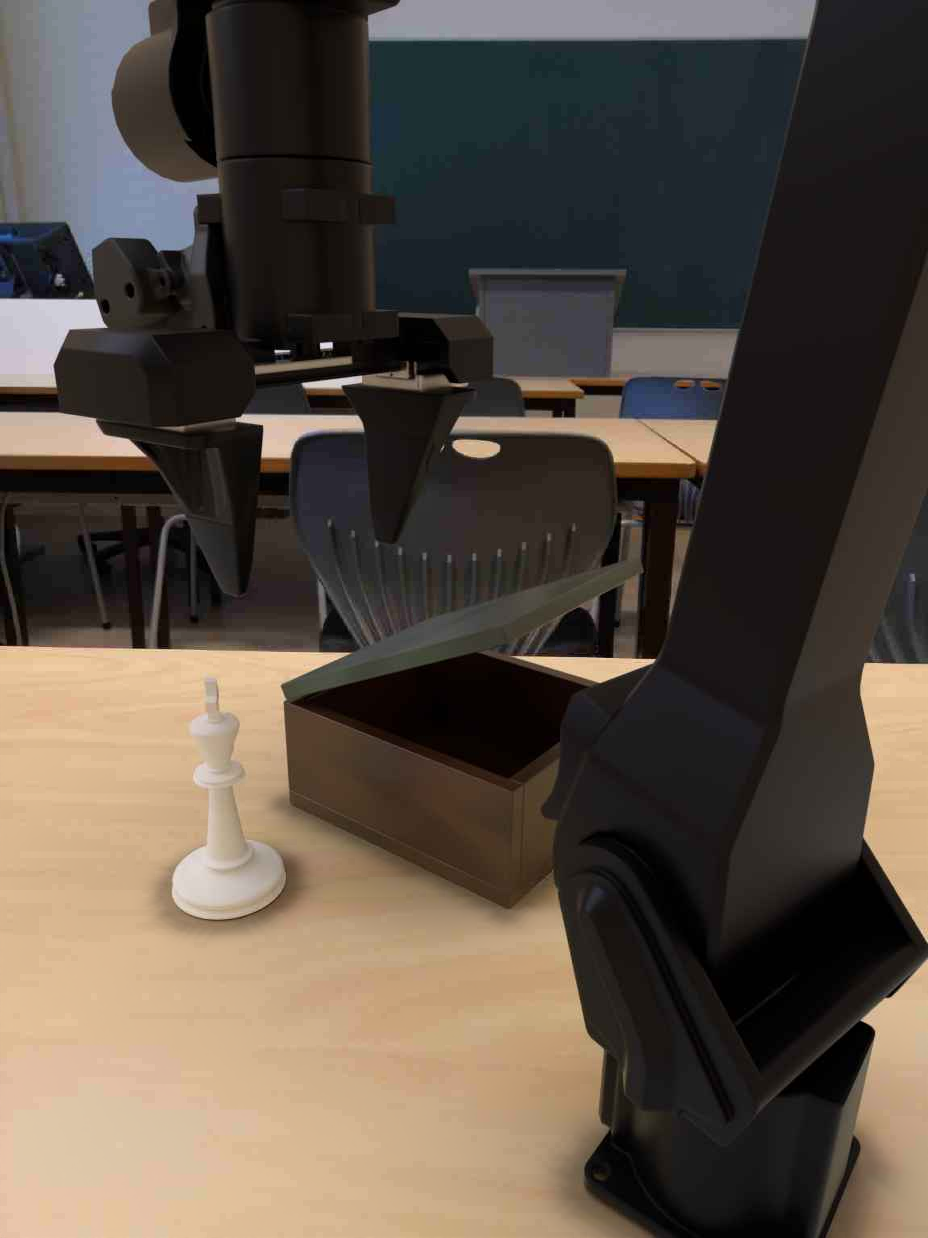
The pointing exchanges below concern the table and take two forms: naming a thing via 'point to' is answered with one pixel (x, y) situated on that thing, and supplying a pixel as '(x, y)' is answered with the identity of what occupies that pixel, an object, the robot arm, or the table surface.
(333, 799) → the wooden box
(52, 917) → the table surface
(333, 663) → the box lid
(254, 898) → the chess piece
